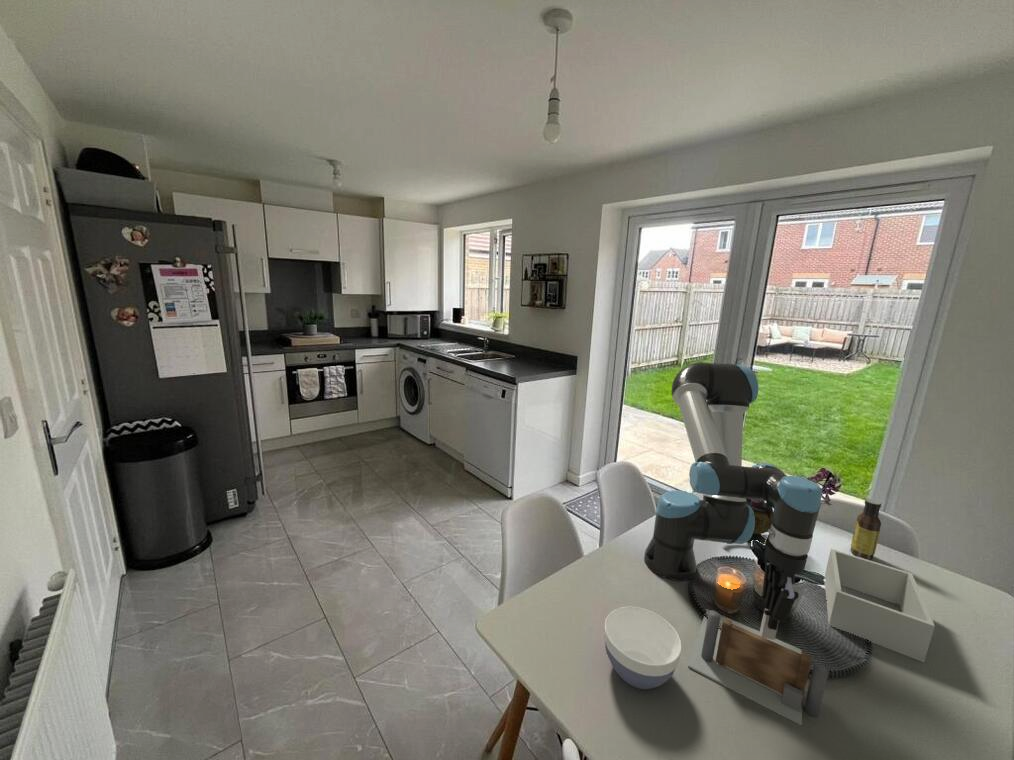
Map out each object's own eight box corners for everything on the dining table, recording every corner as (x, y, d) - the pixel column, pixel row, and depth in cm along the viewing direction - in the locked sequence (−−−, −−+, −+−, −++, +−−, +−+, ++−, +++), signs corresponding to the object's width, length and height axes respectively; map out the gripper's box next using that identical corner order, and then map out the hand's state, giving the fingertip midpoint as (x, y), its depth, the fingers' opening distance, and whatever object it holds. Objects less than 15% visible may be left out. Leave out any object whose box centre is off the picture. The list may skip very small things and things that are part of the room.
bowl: (667, 721, 80) (674, 680, 78) (590, 678, 88) (594, 640, 86) (681, 662, 93) (687, 626, 91) (613, 630, 101) (617, 596, 100)
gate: (715, 661, 93) (722, 621, 91) (716, 656, 94) (723, 617, 92) (801, 704, 84) (811, 661, 81) (801, 698, 85) (811, 656, 83)
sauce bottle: (858, 548, 143) (871, 496, 139) (878, 559, 137) (892, 505, 133) (844, 550, 142) (857, 497, 138) (863, 561, 136) (877, 506, 132)
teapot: (784, 543, 144) (797, 482, 139) (728, 553, 136) (739, 488, 132) (755, 525, 155) (765, 468, 150) (701, 533, 147) (711, 473, 143)
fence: (688, 667, 92) (695, 621, 90) (706, 610, 110) (712, 570, 108) (819, 734, 79) (832, 683, 77) (815, 657, 97) (825, 613, 94)
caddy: (828, 625, 107) (836, 591, 105) (824, 577, 126) (830, 548, 124) (924, 662, 97) (934, 626, 95) (903, 604, 116) (911, 573, 114)
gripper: (759, 527, 97) (741, 611, 102) (779, 561, 85) (757, 654, 90) (794, 533, 95) (775, 618, 100) (820, 569, 83) (796, 664, 88)
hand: (767, 635), depth 95 cm, fingers closed
